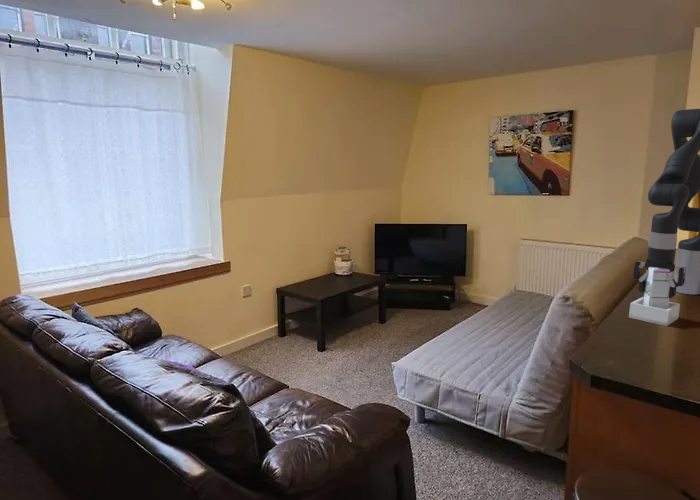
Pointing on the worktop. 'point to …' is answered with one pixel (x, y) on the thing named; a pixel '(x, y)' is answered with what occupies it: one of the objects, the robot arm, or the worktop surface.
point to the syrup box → (657, 288)
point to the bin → (654, 312)
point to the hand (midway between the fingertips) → (656, 295)
